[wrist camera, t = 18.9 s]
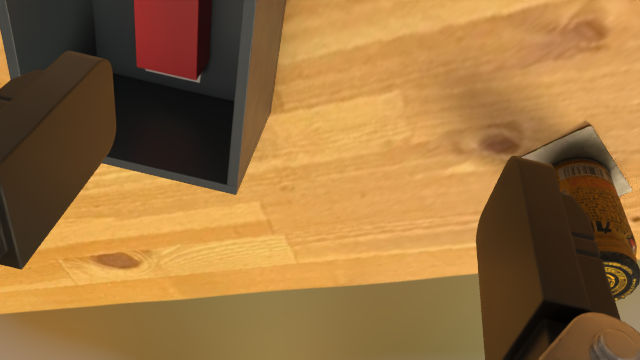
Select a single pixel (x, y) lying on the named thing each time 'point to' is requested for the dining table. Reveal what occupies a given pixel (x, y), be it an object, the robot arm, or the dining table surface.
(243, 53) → the storage bin
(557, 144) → the condiment
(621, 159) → the dining table surface
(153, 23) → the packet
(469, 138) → the dining table surface
